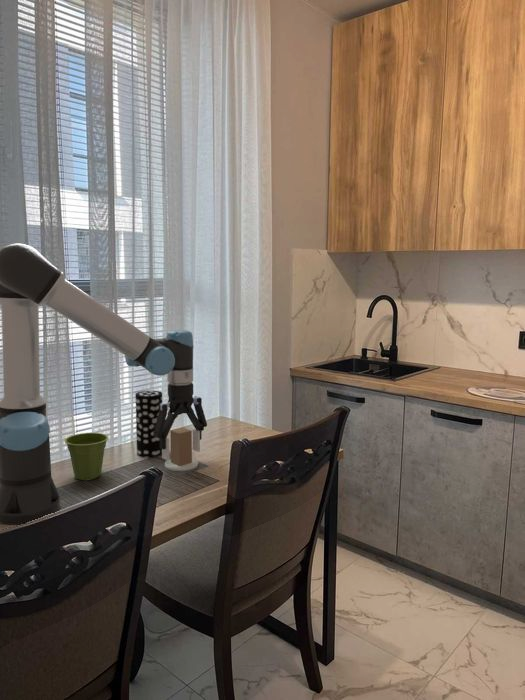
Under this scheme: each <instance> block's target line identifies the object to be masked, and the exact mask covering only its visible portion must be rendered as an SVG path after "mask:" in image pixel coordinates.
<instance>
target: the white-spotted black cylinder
mask: <svg viewBox="0 0 525 700" xmlns="http://www.w3.org/2000/svg"><path fill="white" fill-rule="evenodd" d="M160 403H163V392H162V391H159V390H142V391H138V392H136V393H135V424H136V427H135V429H136V430H135V431H136V432H135V433H136V434H135V435H136V455H137V456H138V457H140V458H156V457H160V456H162V449H161V448H160V438H157V437H155V436H153V434H154V430H155V426H156V422H157V418H158V414H159V404H160Z"/></svg>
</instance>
